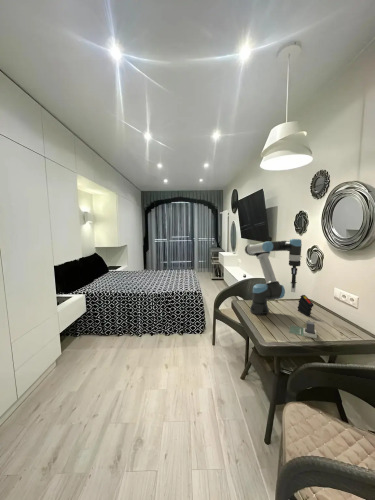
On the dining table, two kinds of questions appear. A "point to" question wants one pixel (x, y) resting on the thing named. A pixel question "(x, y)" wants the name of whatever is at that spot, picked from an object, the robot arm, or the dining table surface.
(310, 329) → the plug
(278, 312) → the dining table surface
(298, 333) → the board
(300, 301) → the black ridged module
